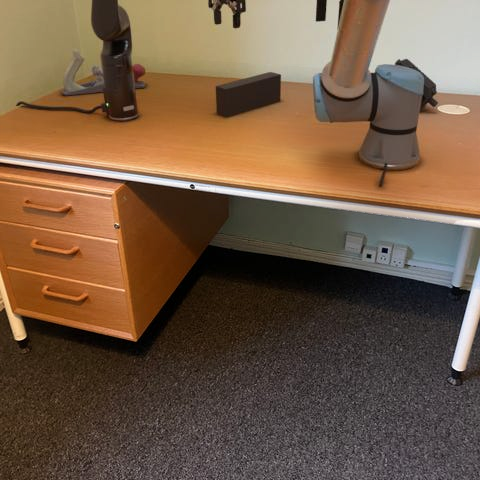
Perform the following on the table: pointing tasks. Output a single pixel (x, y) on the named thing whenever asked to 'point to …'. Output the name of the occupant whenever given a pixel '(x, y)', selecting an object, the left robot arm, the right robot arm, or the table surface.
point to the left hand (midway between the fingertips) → (227, 26)
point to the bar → (248, 94)
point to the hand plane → (95, 85)
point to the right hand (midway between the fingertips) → (331, 25)
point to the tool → (428, 87)
